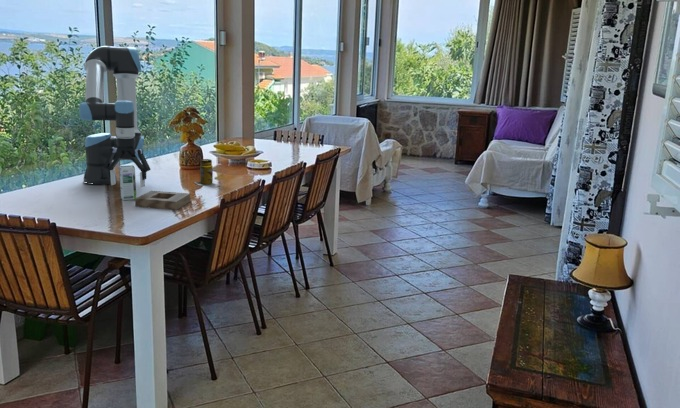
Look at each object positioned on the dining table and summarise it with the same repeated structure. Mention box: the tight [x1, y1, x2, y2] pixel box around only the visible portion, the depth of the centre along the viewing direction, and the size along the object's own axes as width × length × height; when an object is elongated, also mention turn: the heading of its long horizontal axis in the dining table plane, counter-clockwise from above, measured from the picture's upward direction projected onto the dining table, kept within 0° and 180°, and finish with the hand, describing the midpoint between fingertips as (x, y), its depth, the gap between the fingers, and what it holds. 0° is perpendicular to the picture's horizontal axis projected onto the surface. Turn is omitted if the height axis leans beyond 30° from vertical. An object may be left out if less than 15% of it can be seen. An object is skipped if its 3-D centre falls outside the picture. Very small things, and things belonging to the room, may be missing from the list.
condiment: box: [194, 158, 215, 186], centre depth 293 cm, size 7×8×12 cm
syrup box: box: [118, 164, 137, 201], centre depth 258 cm, size 6×6×14 cm
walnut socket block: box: [134, 190, 191, 211], centre depth 253 cm, size 18×15×4 cm
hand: (128, 185), depth 259 cm, fingers open, 13 cm apart
